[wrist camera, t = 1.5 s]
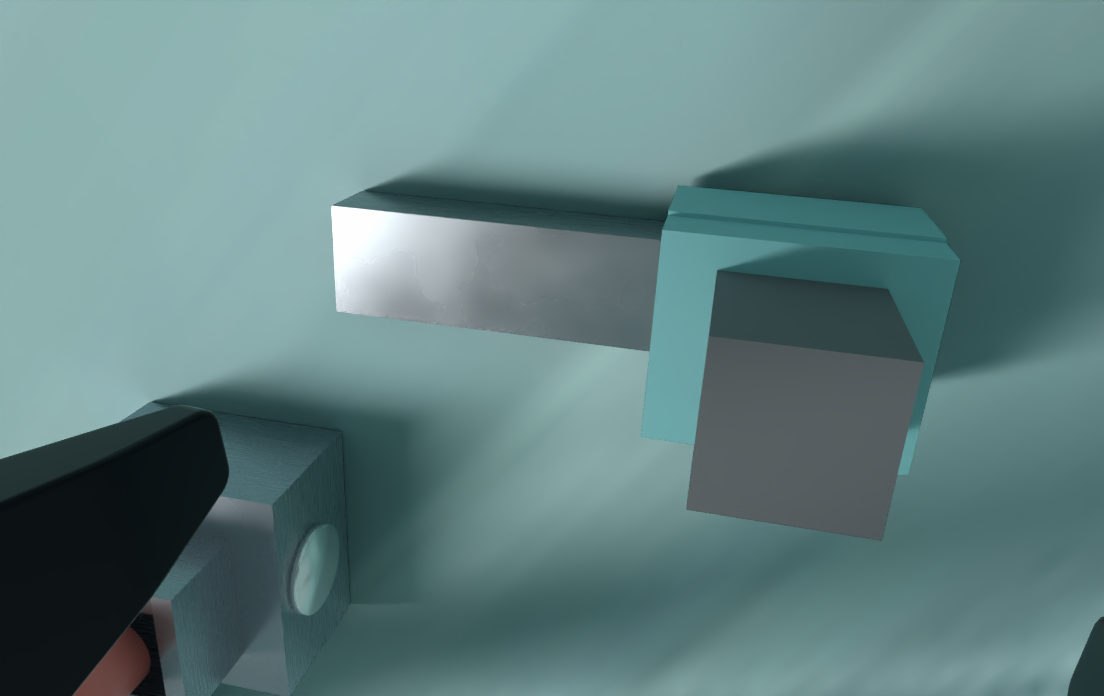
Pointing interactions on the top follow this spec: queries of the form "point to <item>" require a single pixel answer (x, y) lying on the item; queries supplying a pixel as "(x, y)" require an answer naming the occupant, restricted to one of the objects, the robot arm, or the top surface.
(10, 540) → the robot arm
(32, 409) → the top surface
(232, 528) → the grey piece
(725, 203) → the carriage
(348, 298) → the rail
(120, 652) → the plunger
